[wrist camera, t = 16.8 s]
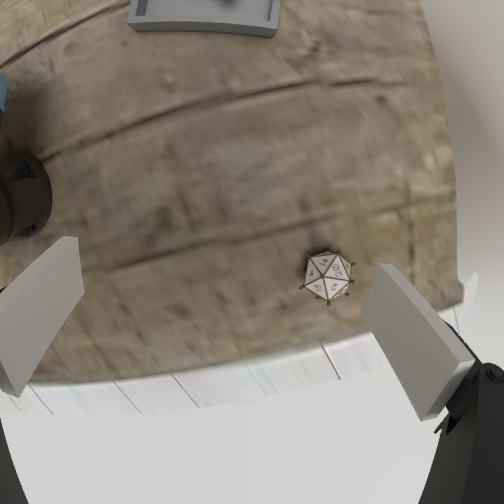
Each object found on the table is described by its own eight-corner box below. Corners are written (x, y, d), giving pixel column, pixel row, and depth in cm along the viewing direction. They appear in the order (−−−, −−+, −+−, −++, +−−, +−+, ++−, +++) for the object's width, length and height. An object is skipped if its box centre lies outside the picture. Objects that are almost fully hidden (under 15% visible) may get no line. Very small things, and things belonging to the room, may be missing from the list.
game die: (305, 251, 53) (288, 248, 44) (354, 244, 50) (348, 239, 40) (311, 303, 52) (295, 312, 43) (361, 298, 49) (356, 306, 40)
